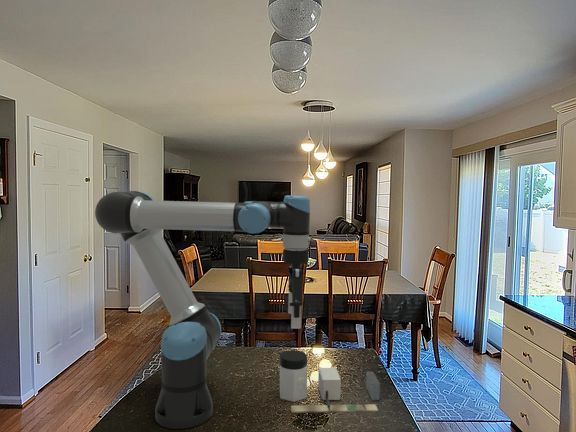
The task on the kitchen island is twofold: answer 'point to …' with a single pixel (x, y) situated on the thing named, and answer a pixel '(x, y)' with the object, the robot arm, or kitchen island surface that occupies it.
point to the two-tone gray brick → (373, 385)
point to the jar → (293, 375)
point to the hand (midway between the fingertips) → (294, 320)
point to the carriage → (329, 384)
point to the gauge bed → (333, 408)
